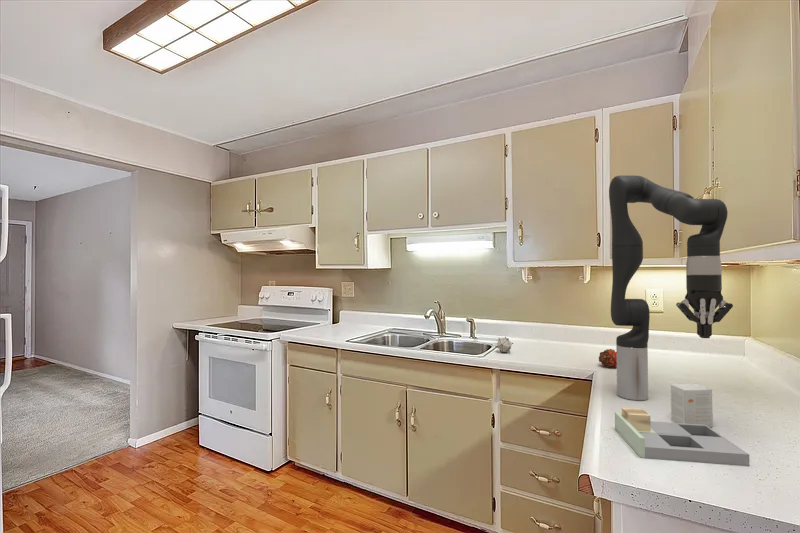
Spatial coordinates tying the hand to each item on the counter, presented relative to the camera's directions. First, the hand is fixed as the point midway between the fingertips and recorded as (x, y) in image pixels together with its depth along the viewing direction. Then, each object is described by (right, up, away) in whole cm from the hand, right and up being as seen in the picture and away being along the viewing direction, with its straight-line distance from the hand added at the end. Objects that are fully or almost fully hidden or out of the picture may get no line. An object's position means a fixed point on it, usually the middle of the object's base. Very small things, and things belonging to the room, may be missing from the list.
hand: (704, 337), depth 106 cm
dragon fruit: (+12, -26, +70) cm, 75 cm away
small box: (0, -25, +5) cm, 26 cm away
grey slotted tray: (-14, -25, -8) cm, 30 cm away
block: (-20, -23, -3) cm, 31 cm away
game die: (-27, -26, +100) cm, 107 cm away
